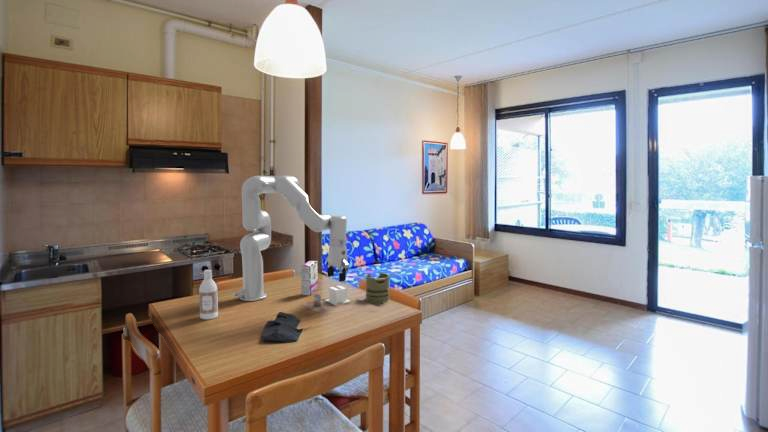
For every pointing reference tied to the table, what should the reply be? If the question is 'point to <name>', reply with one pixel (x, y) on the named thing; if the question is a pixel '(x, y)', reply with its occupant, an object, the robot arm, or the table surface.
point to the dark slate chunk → (282, 328)
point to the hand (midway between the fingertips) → (336, 278)
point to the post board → (324, 303)
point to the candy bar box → (309, 277)
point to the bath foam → (208, 297)
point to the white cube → (337, 294)
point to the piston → (377, 288)
